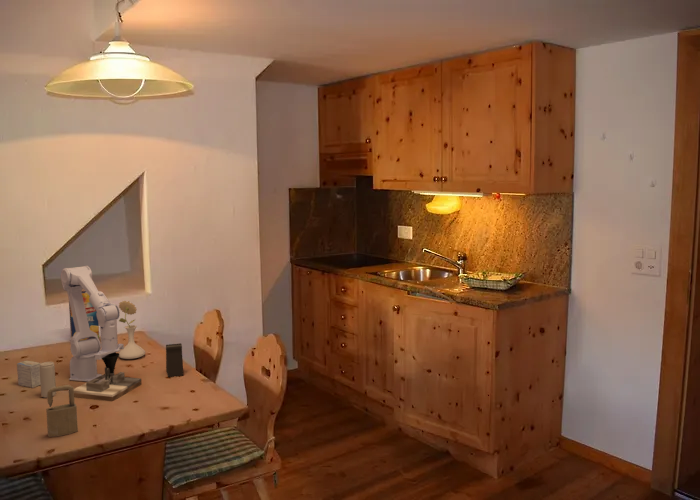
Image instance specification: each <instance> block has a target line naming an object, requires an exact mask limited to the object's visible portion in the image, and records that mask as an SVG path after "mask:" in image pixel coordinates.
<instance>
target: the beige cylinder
mask: <svg viewBox="0 0 700 500" xmlns="http://www.w3.org/2000/svg"><path fill="white" fill-rule="evenodd" d="M40 363H41V364H40V382H41V385H40V395H41V397H42V398H45V399H46V398H47V393H48V390H49V389H50V388H53V387H57V386H56V371H55V369H56V367H55V362H54V361H45V362H40ZM56 394H57V391H56V392H53V393H52V395H53V397H55V396H56Z"/></svg>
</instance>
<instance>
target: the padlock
mask: <svg viewBox="0 0 700 500" xmlns="http://www.w3.org/2000/svg"><path fill="white" fill-rule="evenodd" d="M74 389H75V388H74V386H73V385H71V384H64V385H59V386H56V387H53V388H50V389H49V390H48V393H47V404H48V405H49V407H48V408H46V425H47V427H46V428H47V436H48V438H51V437H53V438H55V437H61V436H65V435H66V436H67V435H71V434H73V433H77V432H78V430H79V429H78V427H79V425H78V413H77V411H78V410H77V404H76V403H75V397H74ZM61 391H68V400H69V401H68V402H69V403H66V404H61V405H55V406H53V403H54V402H53V401H54V400H53V399H54V398H53V397H54V396H53V395H52V393H53V392H56V393H57V392H61Z"/></svg>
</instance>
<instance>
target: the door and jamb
mask: <svg viewBox="0 0 700 500" xmlns="http://www.w3.org/2000/svg"><path fill="white" fill-rule="evenodd" d="M110 377H112V382H111V383H110V384H109V380H104V381H102V382H100V383H95V382H97V381H99V380H101V379H103V378H105V373H104V374H102V375H101V376H99V377H97V378H95V379H93V380H91V381H89V382H85V383H83V384H82V385H80V386H77V387H75V388H73V389H74V398H78V399H87V400H97V401H107V402H113V401H115V400H117V399H118V398H120V397H122V396H124V395H126V394H127V393H129V392H131V391H132V390H134V389H136V388H138V387H139V386H141V385H142V378H141V377H130V376H125V372H124V371H120V372H118V373H116V374H115V372H114V373H110Z"/></svg>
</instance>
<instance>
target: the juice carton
mask: <svg viewBox="0 0 700 500" xmlns="http://www.w3.org/2000/svg"><path fill="white" fill-rule="evenodd" d="M82 297H83V301H84V306H85V310H86V315H87V319H88V324H89V328H90V330H91V331H93V332H95V333H96V334H97V336H98V339H99V340H100V326H99V323H98V319H97V315H96V313H97V311H96V310H95V309H94V307H93V306H92V304H91V303H90V301H89V298H90V296H89V295H88V294H87V292H86V291H85V290H82ZM68 308H69V309H68V310H69V327H70V329H69V330H70V339H71V338H72V337H73V336H74V335H75V334H76V330H75V325H74V321H73V316H72V312H71V307H70V303H69V302H68ZM86 339H89V338H86ZM86 339H81V340H86ZM81 340H78V341H81Z"/></svg>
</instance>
